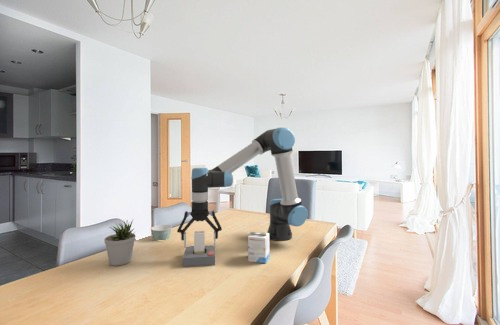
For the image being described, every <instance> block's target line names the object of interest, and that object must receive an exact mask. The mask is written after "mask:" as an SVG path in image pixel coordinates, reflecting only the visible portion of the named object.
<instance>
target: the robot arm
mask: <svg viewBox="0 0 500 325" xmlns="http://www.w3.org/2000/svg"><path fill="white" fill-rule="evenodd" d="M295 142H296V137H295V134H294V132H293V131H292V130H291V129H289V128H288V127H276V128H272V129H267V130H266V131H264V132H263V133H261V134H259V136H257V137H256V138H254V139H253V140H252V141H251V143H250V144H248V145H247V146H245V147H244V148H242V149H241V150H239V151H237V152H236V153H235V154H233V155H232V156H230V157H229V158H227V159H226V160H224V161H222V162H221V163H220V164H218V165H217V166H215V167H213V168H212V169H208V167H194V168H192V169H191V211H188V210H187V211H186V210H185V211H184V213H183V214H184V215H183V218H182V221H181V222H180V223H179V224H180V225H179V227H178V228H177V230H176V231H177V233H180V235H181V236H180V240H181V241H183V249H186V247H187V232H186V231H187V230H188V228H190V226H192V224H193V223H194V222H204V221H205V222H206V223H207V224H208V225H209V226H210V228H211V229H212V230H213V245H214V247H215V248H216V239H217V240H218V238H219V232H221V231H222V230H223V229H222V225H221V224H220V222H219V220H218V218H217V216H216V212H215V210H211V211H209V189H211V188H212V189H213V188H229V187H231V186H232V185H233V183H234V177H233V174H232V173H234V172H236V171H237V170H238V169H240V168H241V167H242V166H245V164H247V163H248V162H250V161H252V160H253V159H254V158H255V157H257V156H258V155H263V154H264V153H266V152H267V153H268V152H270V153H271V156H272V157H274V160H275V166H276V171H277V176H278V182H279V188H280V194H281V198H273V199H270V201H269V226H268V229H267V231H266V233H269V240H272V241H280V242H281V241H288V240H291V239H292V238H293V232H292V229H291V227H301V226H302V225H304V224H305V222H306V221H307V219H308V216H309V215H308V209H307V208H306V207H305V206H304V205H303V203H302V202H303V201H302V198H300V197H299V195H298V190H297V185H296V179H295V173H294V168H293V167H294V166H293V161H292V157H291V156H292V155H291V154H292V153H293V151H294V150H293V148H294V144H295ZM209 215H210V216H211V217H212V219H213V221H214V222H215V224H214V223H213V222H212V221H211V220H210V219H209V217H208V216H209ZM189 216H191V217H192V218H191V219H190V220H189V222H187V224H186V225H185V226H184V224H185V222H186V220H187V219H188V218H189ZM183 226H184V227H183ZM216 226H217V227H216ZM182 228H183V229H182Z"/></svg>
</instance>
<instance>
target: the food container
mask: <svg viewBox="0 0 500 325" xmlns="http://www.w3.org/2000/svg"><path fill="white" fill-rule="evenodd" d="M172 228H173V226H172V225H169V224H158V225H154V226H152V227H151V228H150V231H151V234H152V240H153V241H155V240H164V241H167V240H170V237H171V233H172ZM166 239H167V240H166Z"/></svg>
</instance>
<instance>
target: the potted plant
mask: <svg viewBox="0 0 500 325" xmlns="http://www.w3.org/2000/svg"><path fill="white" fill-rule="evenodd" d="M128 221H129V220H128V219H126V221H124V220H123V223H124V225H123V224H122V223H121V222H119V223H115V225H116V226H113V225H111V226H109V228H110V229H111V230H112V231H114V232H115V233H114V234H111V235H108V236H106V237H105V238H104V244H105V249H106V253H107V258H108V263H109V265H110V266H114V267H117V266H123V265H127V264H128V263H130V262H131V261H132V258H133V251H134V247H135V246H134V245H135V240H136V234H135V233H136V232H137V231H134V229H135V228H133V229H132V228H131V227H132V224H133V221H134V219H132V220H131V222H130V223H127V222H128ZM119 226H120V227H119ZM133 231H134V232H133ZM132 232H133V233H132Z"/></svg>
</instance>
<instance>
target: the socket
mask: <svg viewBox="0 0 500 325" xmlns="http://www.w3.org/2000/svg"><path fill="white" fill-rule="evenodd" d="M184 249H185V250H184V252H183V256H182V268H190V267H191V268H193V267H206V266H207V267H208V266H216V246H215V247H214V244H213V245H205V253H204V254H194V245H193V246H186V248H184Z"/></svg>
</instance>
